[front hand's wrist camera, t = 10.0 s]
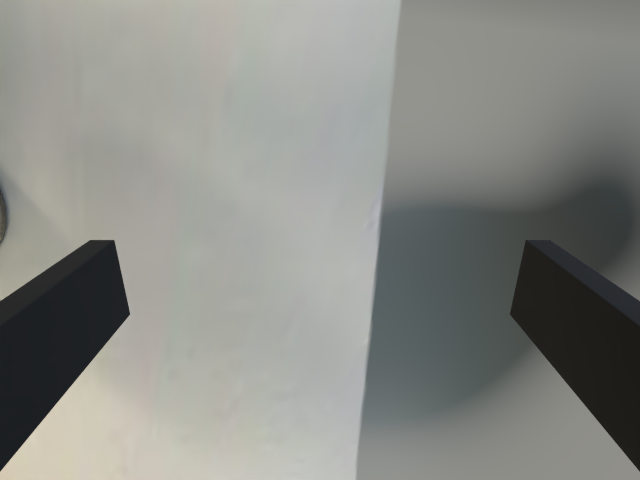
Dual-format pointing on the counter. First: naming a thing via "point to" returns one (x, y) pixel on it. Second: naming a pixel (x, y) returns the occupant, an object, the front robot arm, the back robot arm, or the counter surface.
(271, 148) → the counter surface
